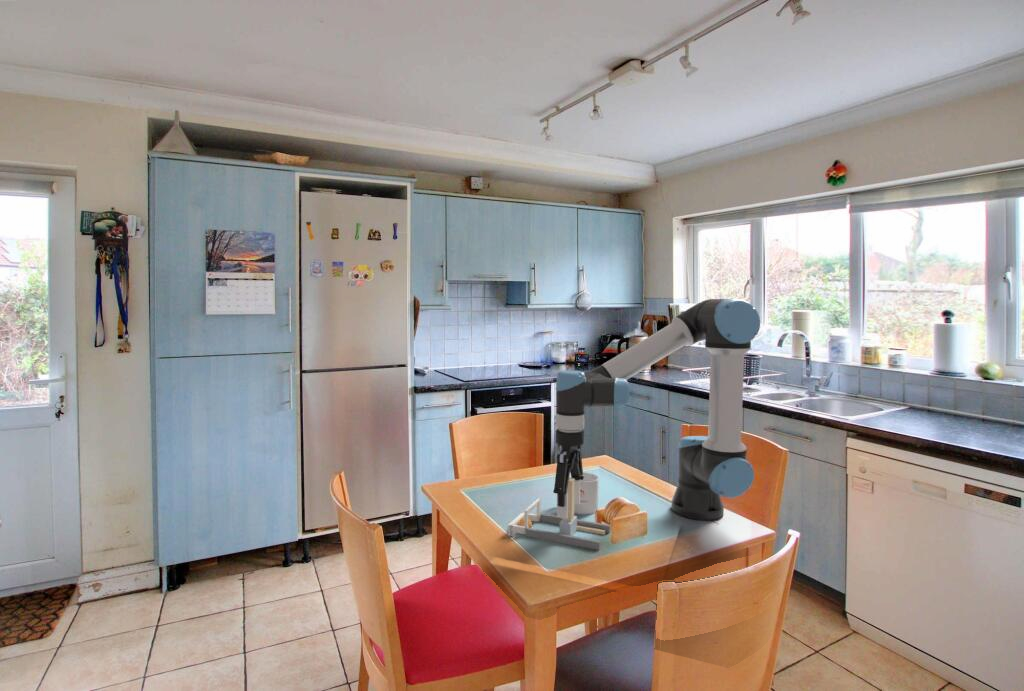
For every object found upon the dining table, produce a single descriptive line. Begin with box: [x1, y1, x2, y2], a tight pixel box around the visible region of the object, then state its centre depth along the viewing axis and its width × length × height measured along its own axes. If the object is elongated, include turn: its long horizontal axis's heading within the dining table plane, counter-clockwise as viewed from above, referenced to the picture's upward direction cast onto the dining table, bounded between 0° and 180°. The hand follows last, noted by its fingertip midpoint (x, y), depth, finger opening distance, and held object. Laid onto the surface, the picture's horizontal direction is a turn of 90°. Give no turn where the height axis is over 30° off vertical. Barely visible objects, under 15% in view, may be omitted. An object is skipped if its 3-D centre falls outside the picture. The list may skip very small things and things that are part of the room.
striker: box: [559, 478, 578, 536], centre depth 146 cm, size 3×6×15 cm, turn 156°
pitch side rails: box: [525, 512, 611, 551], centre depth 147 cm, size 20×12×3 cm, turn 66°
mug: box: [569, 472, 600, 515], centre depth 165 cm, size 12×9×11 cm
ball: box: [519, 518, 533, 528], centre depth 152 cm, size 4×4×4 cm
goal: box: [507, 498, 542, 537], centre depth 152 cm, size 6×10×8 cm, turn 156°
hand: (568, 510), depth 146 cm, fingers open, 10 cm apart
